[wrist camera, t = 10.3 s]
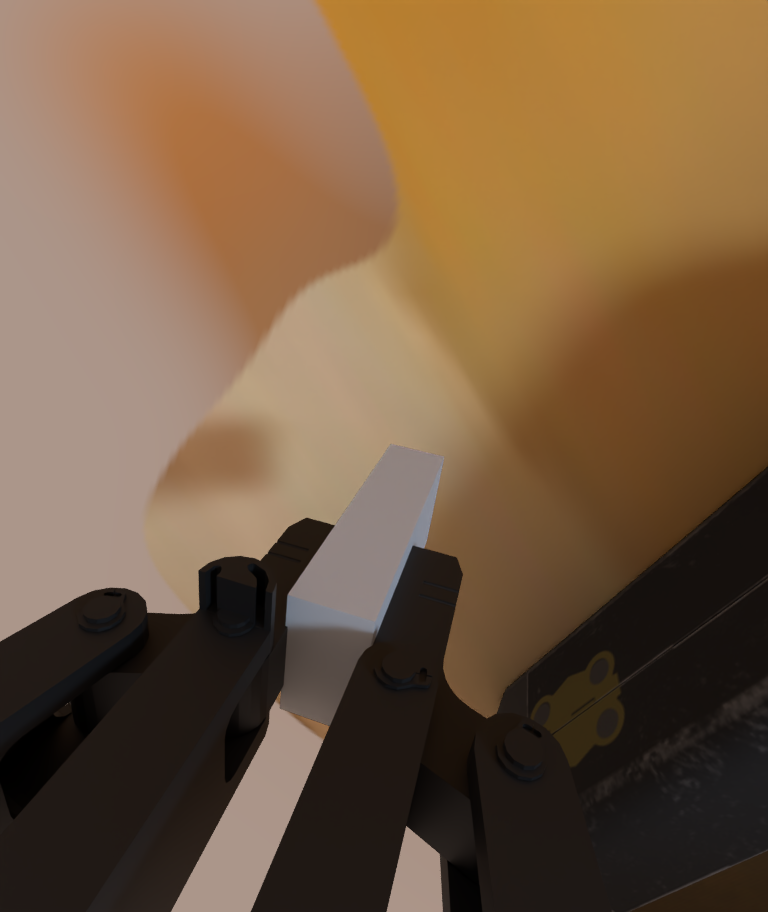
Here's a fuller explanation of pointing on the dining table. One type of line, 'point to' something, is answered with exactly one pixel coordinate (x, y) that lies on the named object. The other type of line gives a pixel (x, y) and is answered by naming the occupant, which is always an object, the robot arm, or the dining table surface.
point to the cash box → (672, 720)
